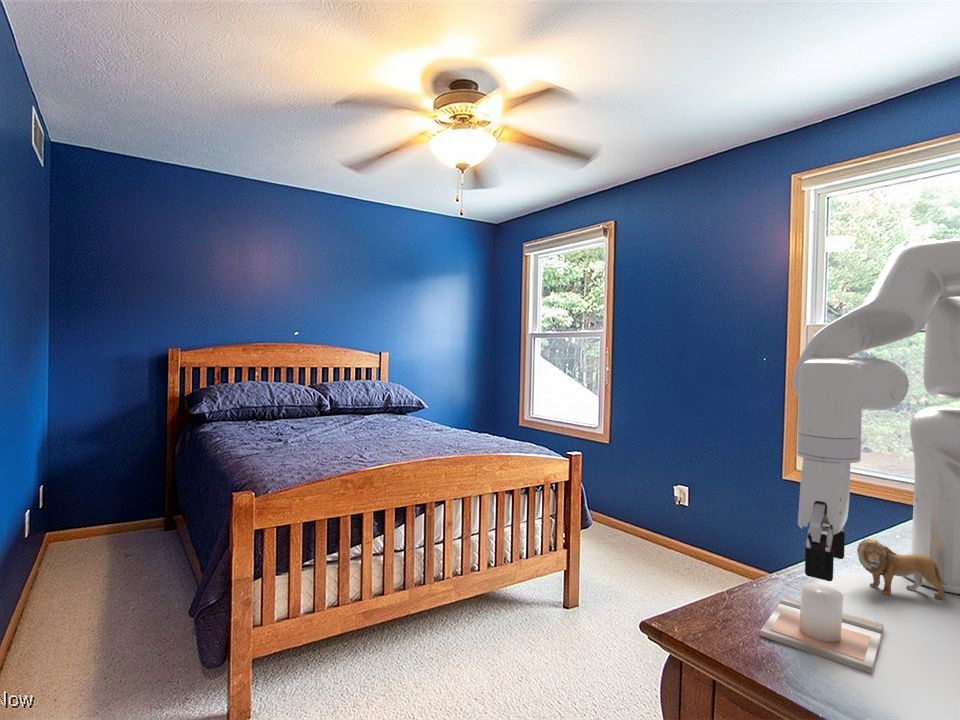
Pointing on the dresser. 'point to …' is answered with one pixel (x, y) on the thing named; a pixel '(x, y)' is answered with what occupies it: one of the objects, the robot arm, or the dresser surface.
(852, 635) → the board
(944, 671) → the dresser surface
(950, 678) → the dresser surface
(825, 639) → the white rounded cylinder
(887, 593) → the lion figurine
